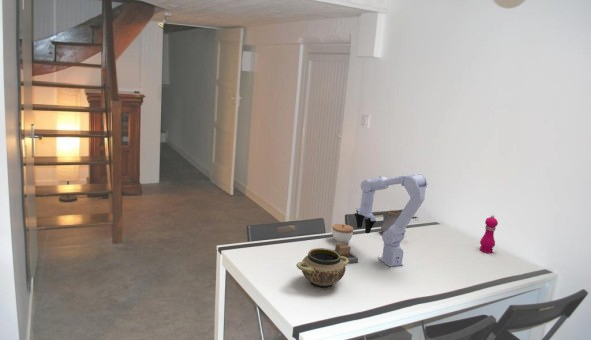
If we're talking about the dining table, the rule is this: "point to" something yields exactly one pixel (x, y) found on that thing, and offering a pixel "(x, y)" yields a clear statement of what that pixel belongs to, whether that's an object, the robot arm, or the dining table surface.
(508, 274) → the dining table surface
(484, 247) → the pepper mill
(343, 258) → the ceramic bowl
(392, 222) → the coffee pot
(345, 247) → the walnut block
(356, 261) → the tray
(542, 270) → the dining table surface
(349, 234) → the lidded jar
